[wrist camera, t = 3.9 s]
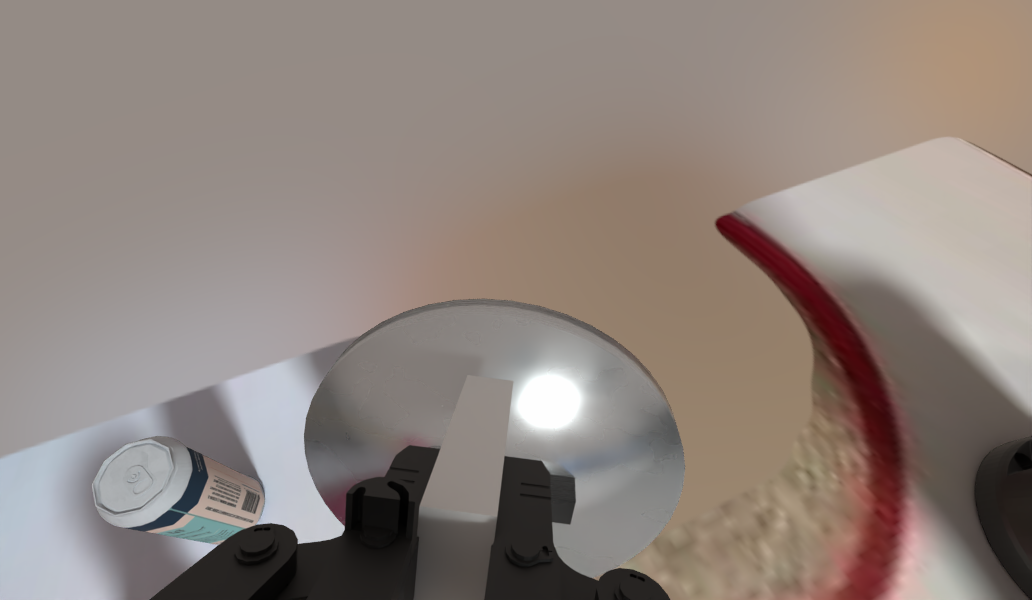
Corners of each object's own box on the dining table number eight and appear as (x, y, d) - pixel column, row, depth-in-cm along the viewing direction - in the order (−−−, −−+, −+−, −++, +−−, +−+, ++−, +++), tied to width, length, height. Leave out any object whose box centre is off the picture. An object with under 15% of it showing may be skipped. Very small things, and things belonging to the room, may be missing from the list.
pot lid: (728, 328, 18) (756, 375, 15) (628, 596, 26) (636, 655, 23) (296, 273, 18) (255, 310, 15) (332, 555, 26) (309, 609, 24)
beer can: (243, 462, 38) (152, 414, 27) (280, 505, 36) (199, 471, 26) (185, 513, 36) (64, 480, 25) (222, 560, 34) (110, 547, 24)
